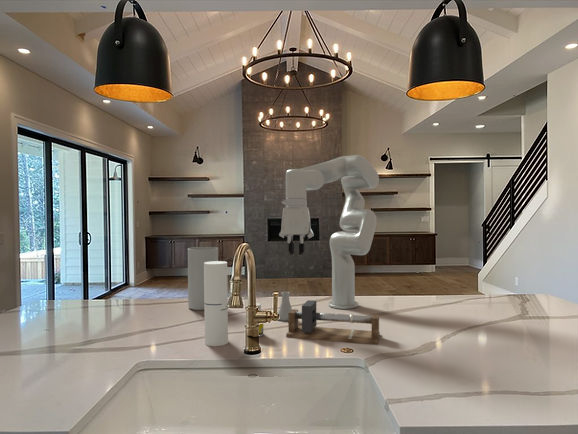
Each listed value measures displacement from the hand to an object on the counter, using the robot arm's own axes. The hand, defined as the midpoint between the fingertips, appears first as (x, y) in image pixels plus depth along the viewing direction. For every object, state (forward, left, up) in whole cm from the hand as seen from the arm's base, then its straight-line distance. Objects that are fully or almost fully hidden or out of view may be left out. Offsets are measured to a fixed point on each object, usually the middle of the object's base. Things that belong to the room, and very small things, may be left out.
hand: (296, 253), depth 151 cm
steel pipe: (+12, +16, -21) cm, 28 cm away
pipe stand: (+12, +15, -25) cm, 32 cm away
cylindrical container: (+28, -19, -25) cm, 42 cm away
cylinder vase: (-13, -45, -25) cm, 53 cm away
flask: (-4, -6, -25) cm, 26 cm away
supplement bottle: (+18, -10, -25) cm, 33 cm away
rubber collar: (+12, +8, -23) cm, 27 cm away
